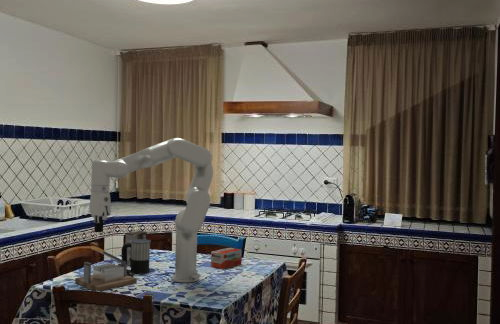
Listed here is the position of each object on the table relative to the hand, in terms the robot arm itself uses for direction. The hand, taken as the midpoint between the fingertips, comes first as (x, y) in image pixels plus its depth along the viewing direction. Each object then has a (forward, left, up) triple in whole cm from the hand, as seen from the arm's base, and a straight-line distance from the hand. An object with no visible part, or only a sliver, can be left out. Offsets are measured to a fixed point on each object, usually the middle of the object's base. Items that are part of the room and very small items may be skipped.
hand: (98, 231), depth 210 cm
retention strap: (0, -5, -11) cm, 12 cm away
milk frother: (+6, -22, -23) cm, 32 cm away
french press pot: (+21, -33, -23) cm, 46 cm away
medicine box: (-12, -66, -23) cm, 71 cm away
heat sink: (0, -4, -21) cm, 21 cm away
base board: (0, -4, -23) cm, 23 cm away
